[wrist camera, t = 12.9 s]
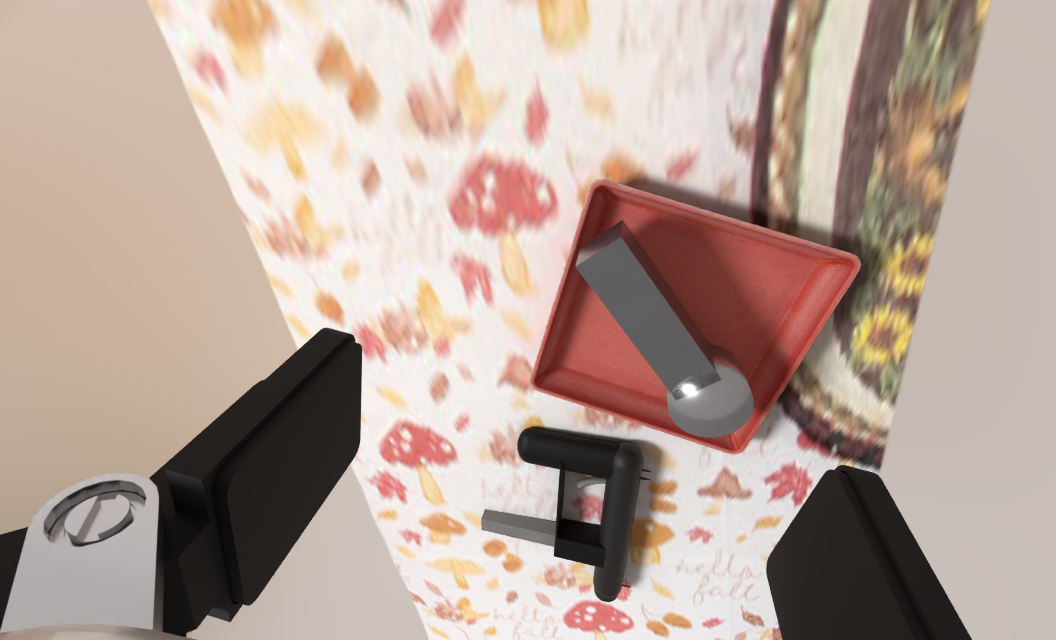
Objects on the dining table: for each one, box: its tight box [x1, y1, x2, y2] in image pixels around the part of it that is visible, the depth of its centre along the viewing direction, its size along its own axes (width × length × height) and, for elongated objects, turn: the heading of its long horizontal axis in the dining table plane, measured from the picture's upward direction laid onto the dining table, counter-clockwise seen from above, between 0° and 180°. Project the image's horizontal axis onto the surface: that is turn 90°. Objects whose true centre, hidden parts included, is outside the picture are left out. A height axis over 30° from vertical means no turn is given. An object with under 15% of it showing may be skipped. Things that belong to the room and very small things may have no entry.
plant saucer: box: [530, 179, 861, 454], centre depth 38 cm, size 18×18×3 cm
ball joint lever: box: [575, 220, 754, 438], centre depth 35 cm, size 16×6×4 cm, turn 38°
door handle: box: [481, 428, 651, 602], centre depth 50 cm, size 3×20×16 cm
